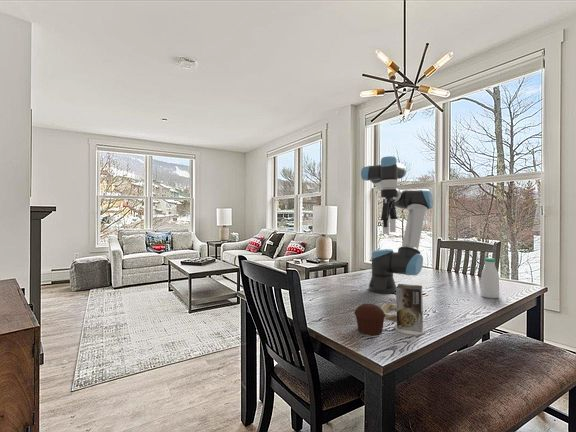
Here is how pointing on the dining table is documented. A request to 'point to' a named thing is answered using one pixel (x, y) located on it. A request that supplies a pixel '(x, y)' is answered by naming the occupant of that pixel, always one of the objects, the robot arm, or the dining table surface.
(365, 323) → the muffin
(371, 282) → the robot arm
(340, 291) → the dining table surface
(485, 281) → the milk bottle
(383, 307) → the holder board
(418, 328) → the coffee box
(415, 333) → the coaster
